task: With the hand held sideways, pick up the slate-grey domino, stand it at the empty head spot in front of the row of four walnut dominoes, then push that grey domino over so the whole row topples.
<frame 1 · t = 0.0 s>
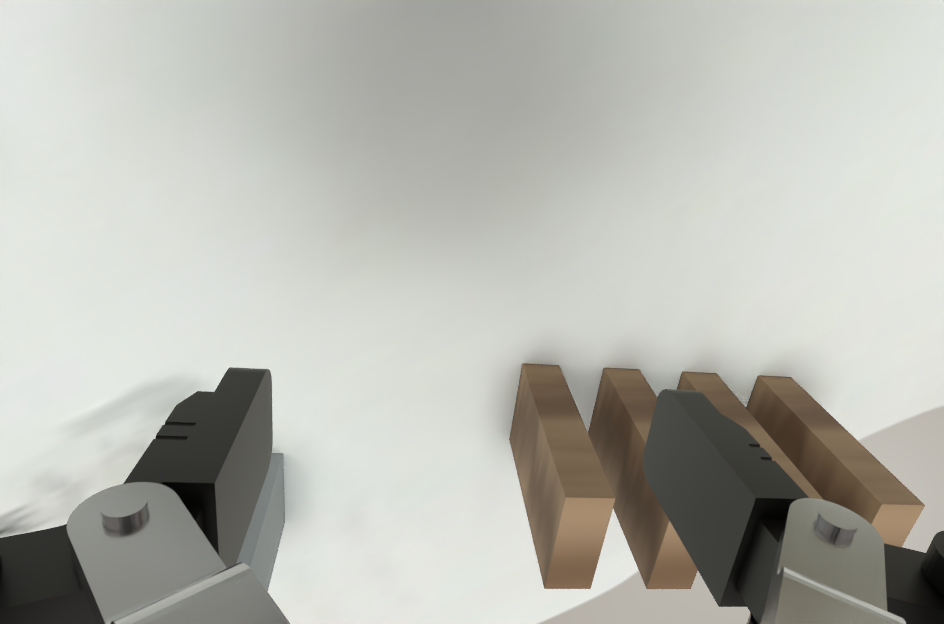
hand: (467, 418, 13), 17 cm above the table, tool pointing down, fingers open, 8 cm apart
walnut domino 4: (687, 410, 35), on the table
walnut domino 2: (533, 403, 34), on the table
walnut domino 3: (611, 406, 34), on the table
walnut domino 5: (760, 413, 35), on the table
grey domino: (265, 488, 34), on the table
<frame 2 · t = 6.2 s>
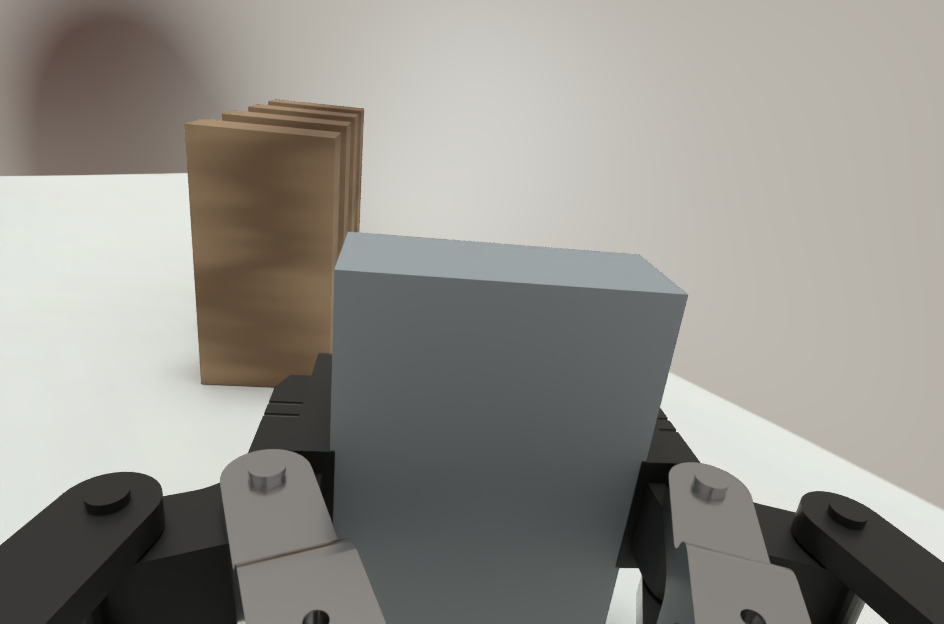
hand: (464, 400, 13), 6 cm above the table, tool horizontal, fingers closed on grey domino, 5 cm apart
walnut domino 4: (304, 298, 34), on the table
walnut domino 2: (271, 375, 25), on the table
walnut domino 3: (290, 331, 30), on the table
walnut domino 5: (315, 273, 38), on the table
when the fingers open (7 cm above the table, at t = 12.0 s): grey domino stays where it is, on the table.
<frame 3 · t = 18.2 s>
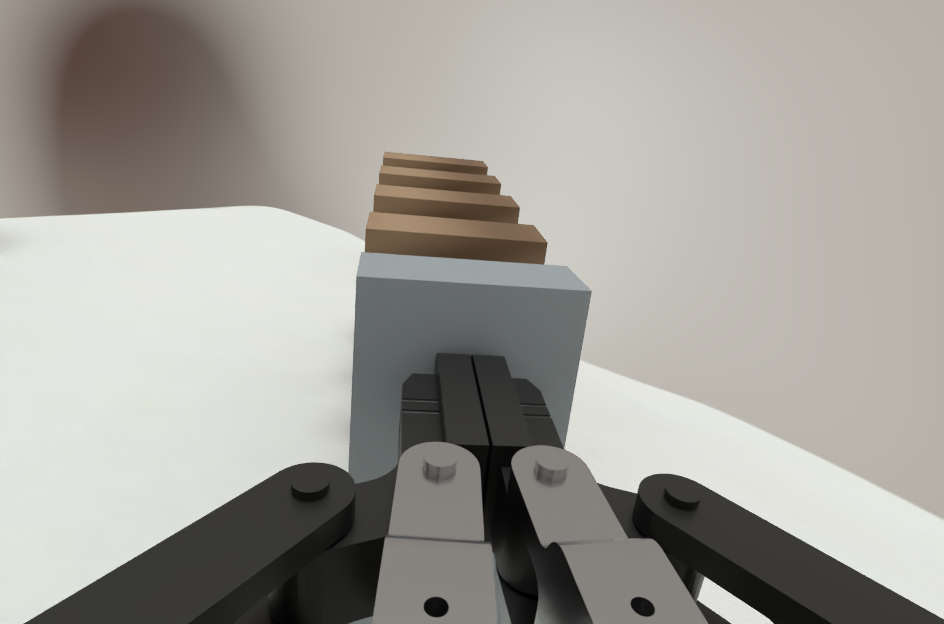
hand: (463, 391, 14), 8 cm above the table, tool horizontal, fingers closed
walnut domino 4: (421, 382, 29), on the table
walnut domino 2: (428, 506, 21), on the table
walnut domino 3: (424, 434, 25), on the table
walnut domino 5: (419, 343, 34), on the table
grey domino: (435, 615, 17), on the table, touching gripper
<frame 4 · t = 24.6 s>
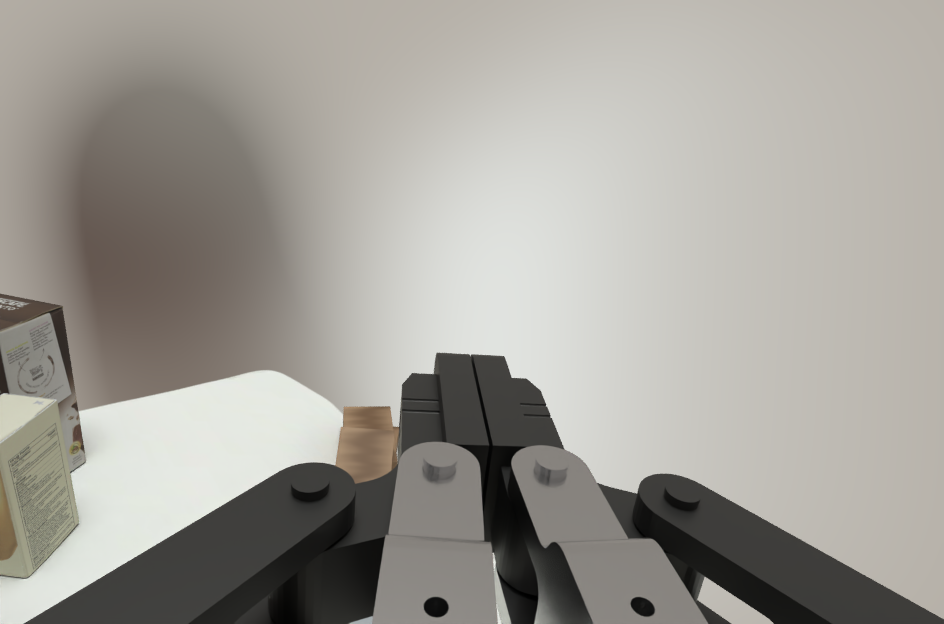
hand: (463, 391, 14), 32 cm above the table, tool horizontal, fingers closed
skincare box: (28, 549, 48), on the table
walnut domino 4: (370, 470, 58), point 2 cm above the table, tilted 90°, touching walnut domino 3, walnut domino 5
walnut domino 3: (355, 538, 52), point 1 cm above the table, tilted 64°, touching walnut domino 2, walnut domino 4
coffee box: (20, 470, 57), on the table
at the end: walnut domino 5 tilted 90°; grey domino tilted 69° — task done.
